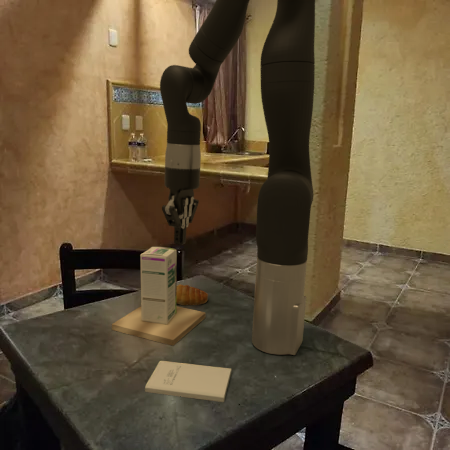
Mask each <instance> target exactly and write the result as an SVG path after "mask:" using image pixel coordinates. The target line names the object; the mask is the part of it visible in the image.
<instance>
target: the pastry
mask: <svg viewBox="0 0 450 450" xmlns="http://www.w3.org/2000/svg"><path fill="white" fill-rule="evenodd" d="M176 287H177V288H176V305H180V306H199V305H203V304H205V303H207V301H208V298H209V294H208V292H206V291H204V290H201V289H199V288H196V286H195V287H194V286H190V285H188V284H185V285H183V284H177V286H176Z"/></svg>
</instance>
